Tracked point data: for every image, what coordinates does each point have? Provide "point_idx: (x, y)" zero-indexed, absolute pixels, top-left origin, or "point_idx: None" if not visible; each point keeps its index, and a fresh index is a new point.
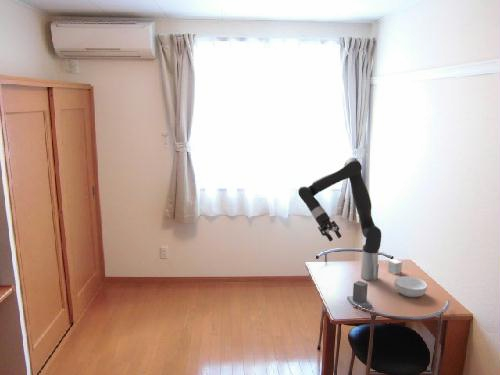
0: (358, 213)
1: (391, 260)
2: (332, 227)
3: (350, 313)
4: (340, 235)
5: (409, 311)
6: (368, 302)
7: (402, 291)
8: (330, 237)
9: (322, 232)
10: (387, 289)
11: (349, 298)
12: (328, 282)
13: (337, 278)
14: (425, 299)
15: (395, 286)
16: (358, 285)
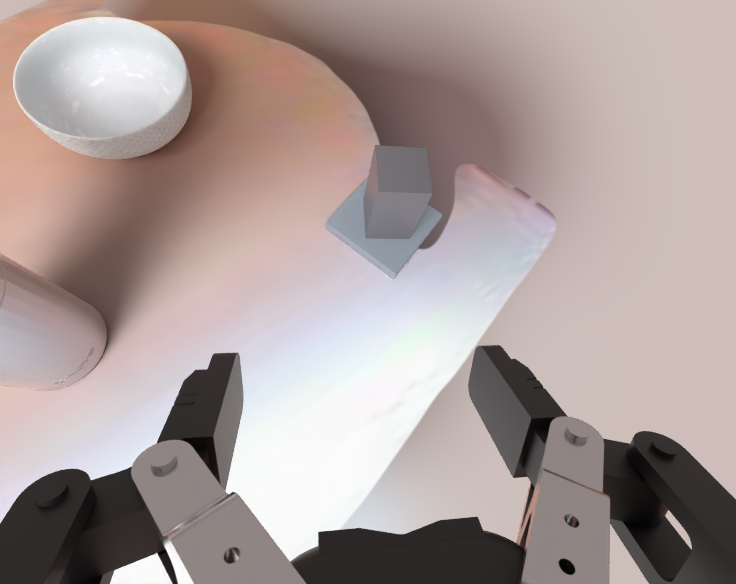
0: None
1: None
2: (299, 569)
3: (485, 206)
4: (229, 361)
5: (295, 76)
6: None
7: (190, 105)
8: (516, 379)
9: (667, 561)
10: (151, 203)
11: (407, 255)
12: (305, 465)
13: None
14: None
15: (163, 138)
16: (428, 169)
